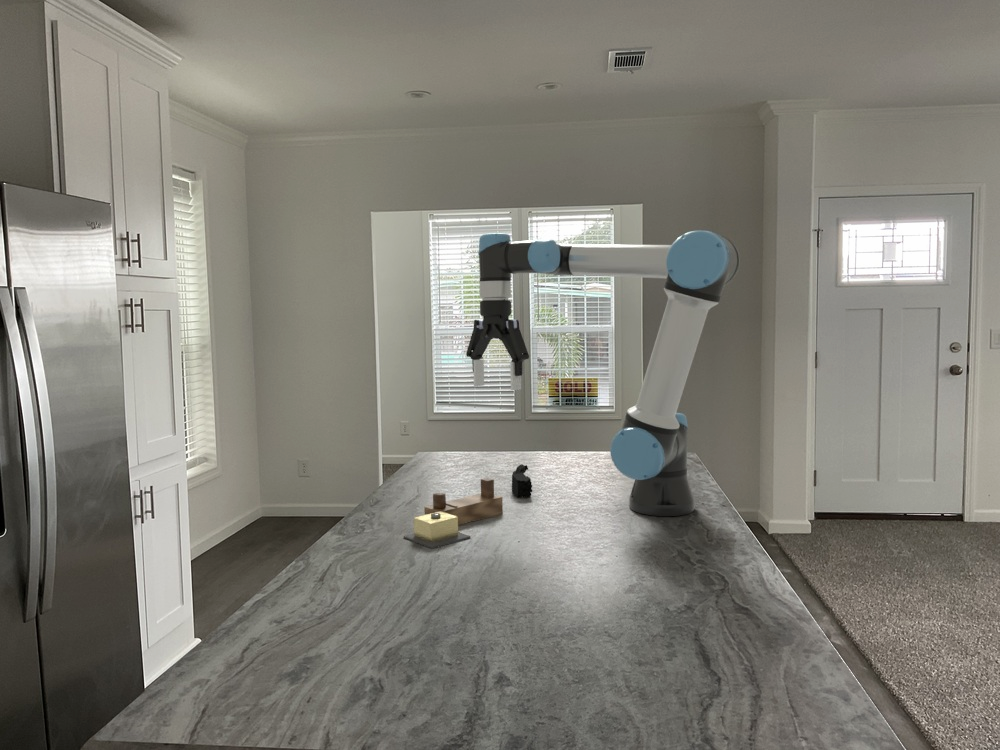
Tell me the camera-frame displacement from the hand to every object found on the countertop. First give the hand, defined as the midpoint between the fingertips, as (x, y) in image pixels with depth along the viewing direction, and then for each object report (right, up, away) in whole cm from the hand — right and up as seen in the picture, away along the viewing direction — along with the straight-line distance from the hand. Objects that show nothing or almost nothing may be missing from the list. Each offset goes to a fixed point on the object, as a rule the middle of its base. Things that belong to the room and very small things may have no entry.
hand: (497, 387), depth 179 cm
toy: (+7, -28, +15) cm, 32 cm away
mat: (-13, -31, -23) cm, 41 cm away
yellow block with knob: (-13, -31, -23) cm, 41 cm away
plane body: (-7, -30, -10) cm, 32 cm away
